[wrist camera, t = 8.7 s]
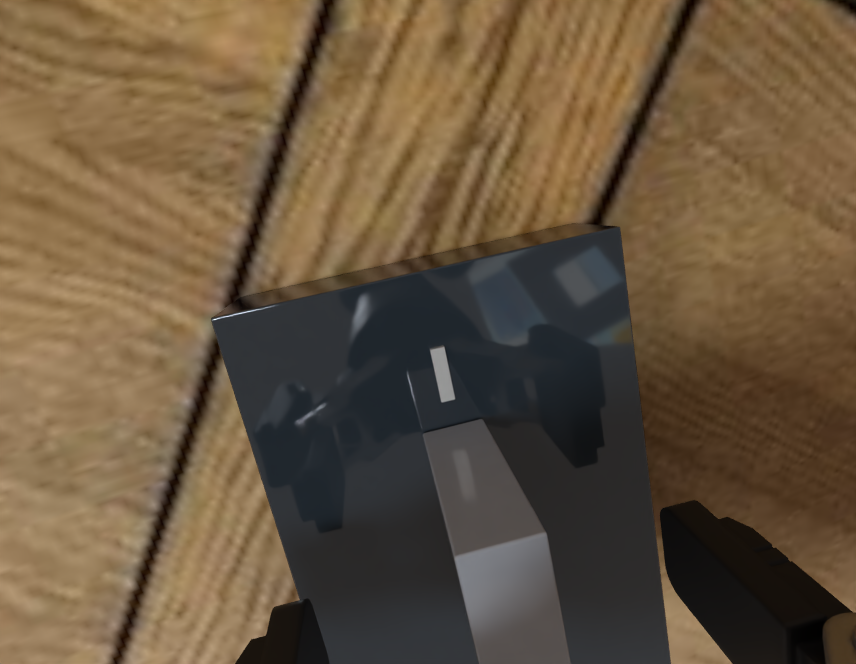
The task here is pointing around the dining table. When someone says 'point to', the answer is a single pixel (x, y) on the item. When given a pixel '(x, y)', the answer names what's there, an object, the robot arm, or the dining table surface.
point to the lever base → (444, 407)
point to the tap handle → (496, 550)
